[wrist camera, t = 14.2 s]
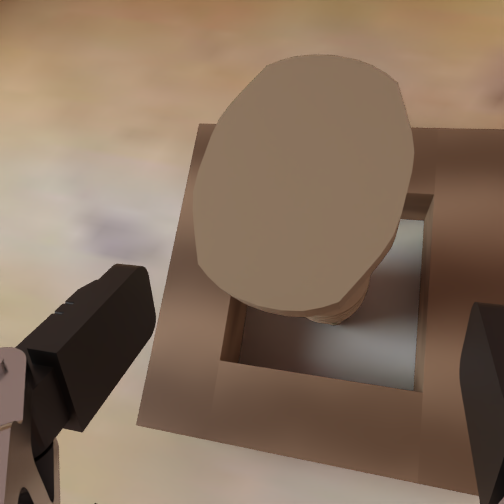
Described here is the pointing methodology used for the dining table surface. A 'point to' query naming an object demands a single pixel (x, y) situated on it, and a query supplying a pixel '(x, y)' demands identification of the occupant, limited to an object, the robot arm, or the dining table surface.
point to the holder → (335, 390)
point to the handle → (304, 187)
